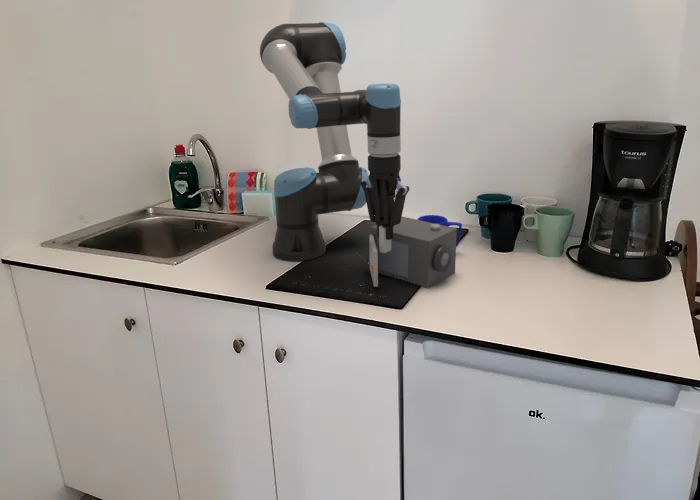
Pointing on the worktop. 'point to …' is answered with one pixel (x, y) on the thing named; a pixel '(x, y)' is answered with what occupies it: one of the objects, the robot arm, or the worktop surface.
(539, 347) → the worktop surface
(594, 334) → the worktop surface
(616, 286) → the worktop surface
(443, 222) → the mug
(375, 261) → the door
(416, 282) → the camera body
